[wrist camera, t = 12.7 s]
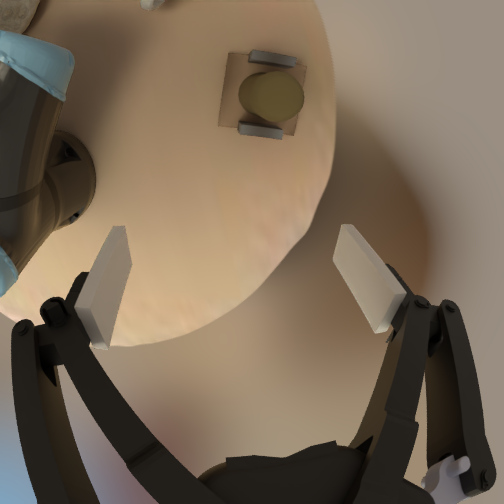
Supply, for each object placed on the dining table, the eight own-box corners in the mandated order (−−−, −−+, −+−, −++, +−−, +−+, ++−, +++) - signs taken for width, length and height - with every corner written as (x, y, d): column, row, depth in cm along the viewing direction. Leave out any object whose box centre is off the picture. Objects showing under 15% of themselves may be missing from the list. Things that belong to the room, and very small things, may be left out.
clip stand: (217, 126, 34) (218, 132, 30) (228, 52, 28) (230, 46, 24) (291, 135, 36) (301, 143, 31) (304, 65, 30) (317, 62, 26)
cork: (228, 90, 30) (233, 90, 21) (266, 63, 29) (288, 54, 20) (257, 125, 33) (273, 140, 24) (294, 99, 32) (325, 106, 23)
